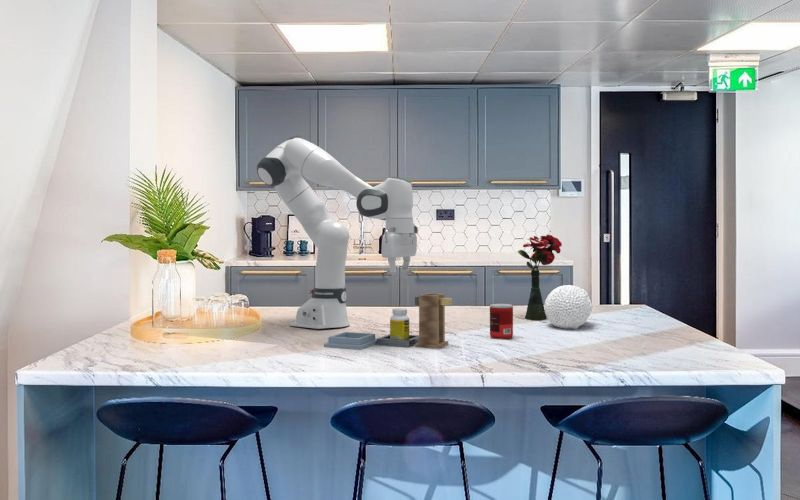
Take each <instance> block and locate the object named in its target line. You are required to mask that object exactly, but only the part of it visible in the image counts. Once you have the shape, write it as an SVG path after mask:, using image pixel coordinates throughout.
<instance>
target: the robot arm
mask: <svg viewBox="0 0 800 500" xmlns="http://www.w3.org/2000/svg"><path fill="white" fill-rule="evenodd" d="M256 171H257V172H256V173H257V175H258V177H259V179H260V180H261V181H262V182H263V183H264V184H265V185H267V186H269V187H274V189H275V190H276V192H277V194H278V196H279V197H280V198H281V200H282V201H283V203H284V204H285V205H286V206H287V208H288V209H289V211H290V212H291V213H292V214H293V216H294V217H295V218H296V219H297V221H298V222H299V223H300V225H301V227H302V228H303V230H304V231H305V233H306V234H307V236H308V238H309V239H310V240H311V242H312V244H314V246H315V247H316V248H317V255H316V256H317V257H316V262H315V268H314V269H315V270H314V271H315V272H314V274H315V275H314V276H315V279H314V281H315V283H314V285H315V287H314V288H313V289H311V290H309V293H308V294H309V295H310V294H311V296H310V298H309V300H307V301H305V303H303V304H302V305H301V306H300V307H298V308H297V311H296V314H295V315H296V316H295V320H294V321H290V323H289V326H291V327H300V328H308V329H309V328H310V329H316V330H321V329H330V328H344V327H348V326H350V321H349V317H348V312H347V303H346V302H347V288H346V261H347V255H348V247H349V246H348V244H349V241H350V232H349V229H348V228H347V227H346V226H345V224H343V223H342V222H340V221H336V220H333V219H332V218H331V216H330V214H329V213H328V211H327V209H326V207H325V206H324V203H323V201H322V200H321V199H320V198H319V196H318V195H317V193H316V192H315V191H314V189H312V187H311V186H310V185H309V183H308V182H307V181H306V179H307V180H309V181H311V182H312V183H315V184H316V185H317V184H318V185H320V186H324V187H329V188H335V189H337V190H341V191H342V192H343V191H344V192H346V193H348V194H349V195H351V196H353V198H354V197H355V199H356V208H357V209H356V210H357V211H358V212H359V214H361V215H362V217H365V218H369V219H374V220H375V219H377V220H381V221H385V231H384V234H383V235H382V240H381V250H380V251H381V257H382V258H383V259H384V258H385V259H387V263H388V266H389V272H390V273H396V272H398V266H397V264H396V262H397V258H402V265H401V270H402V271H403V272H407V271H409V270H410V268H409V265H410V263H411V257H415V256H416V255H417V250H418V248H417V247H418V237H417V234H418V233H419V227H418V226H417V225H416V224H415V222H414V216H413V207H414V194H413V186H412V184H411V183H412V182H410V181H409V180H408V179H405V178H401V177H396V176H389V177H387V178H386V179H385V180H384V181H382V182H381V183H380V184H377V185H375V186H372V185H371V184H369V183H368V182H366V181H364V180H363V179H361V178H360V177H358V176H356V175H355V174H353V173H352V172H351V171H350V170H348V168H346V167H345V166H344V165H342V164H341V163H340V162H339V161H338V160H337V159H336V158H334V156H332V155H331V154H330V153H329V152H327V151H326V150H324V149H322V148H321V147H320V146H318V145H316V144H315V143H312V142H310V141H308V140H307V139H306V138H305V137H303V136H302V135H294V136H292V137H290V138H287V140H286V141H283V142H282V143H280V144H279V145H277V146H276V147H275V148H274V149H273V150H271V151H270V152H269V153H268V154H267V155H266V156H265V157H263V158H261V159H260V161H259V162H258V163H257V165H256ZM303 177H304V178H305V179H304V178H303Z"/></svg>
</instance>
